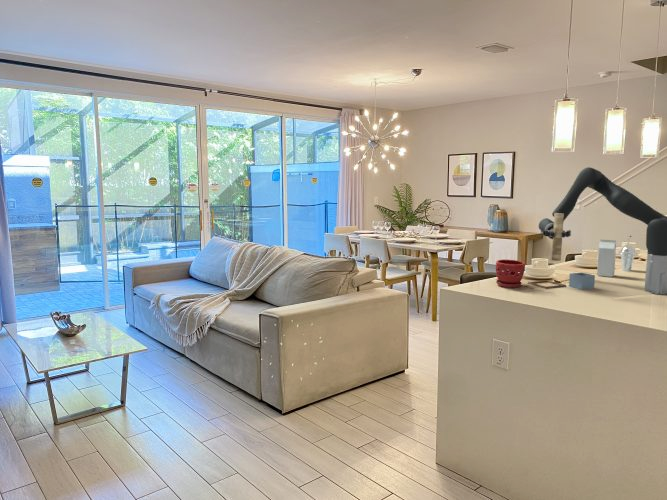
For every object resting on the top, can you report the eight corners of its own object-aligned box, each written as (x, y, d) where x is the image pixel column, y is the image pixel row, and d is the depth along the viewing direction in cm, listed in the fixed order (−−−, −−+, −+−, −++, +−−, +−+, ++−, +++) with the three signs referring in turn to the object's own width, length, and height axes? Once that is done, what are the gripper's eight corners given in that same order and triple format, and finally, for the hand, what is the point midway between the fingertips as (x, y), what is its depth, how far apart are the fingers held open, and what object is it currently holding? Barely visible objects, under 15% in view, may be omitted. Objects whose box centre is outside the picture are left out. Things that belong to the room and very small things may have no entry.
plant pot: (492, 287, 235) (493, 262, 234) (497, 282, 247) (498, 258, 245) (521, 289, 229) (523, 264, 228) (525, 284, 241) (526, 260, 239)
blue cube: (593, 290, 227) (594, 275, 226) (581, 291, 225) (582, 276, 224) (581, 286, 234) (582, 272, 233) (568, 288, 232) (569, 273, 231)
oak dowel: (562, 260, 232) (565, 213, 228) (555, 261, 231) (558, 214, 227) (556, 259, 236) (559, 213, 232) (549, 259, 234) (552, 213, 231)
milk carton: (612, 277, 257) (614, 241, 254) (596, 275, 261) (599, 240, 258) (614, 275, 262) (616, 239, 260) (599, 273, 267) (601, 238, 264)
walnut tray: (566, 288, 232) (566, 284, 232) (545, 290, 228) (545, 286, 228) (547, 283, 243) (547, 280, 243) (527, 285, 239) (527, 282, 239)
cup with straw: (637, 270, 276) (640, 234, 273) (631, 272, 270) (634, 236, 267) (621, 268, 282) (623, 233, 279) (615, 270, 276) (617, 234, 273)
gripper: (538, 223, 246) (542, 226, 230) (569, 223, 242) (576, 227, 226) (537, 237, 247) (541, 242, 231) (568, 238, 243) (574, 243, 227)
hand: (558, 235), depth 229 cm, fingers closed on oak dowel, 4 cm apart
